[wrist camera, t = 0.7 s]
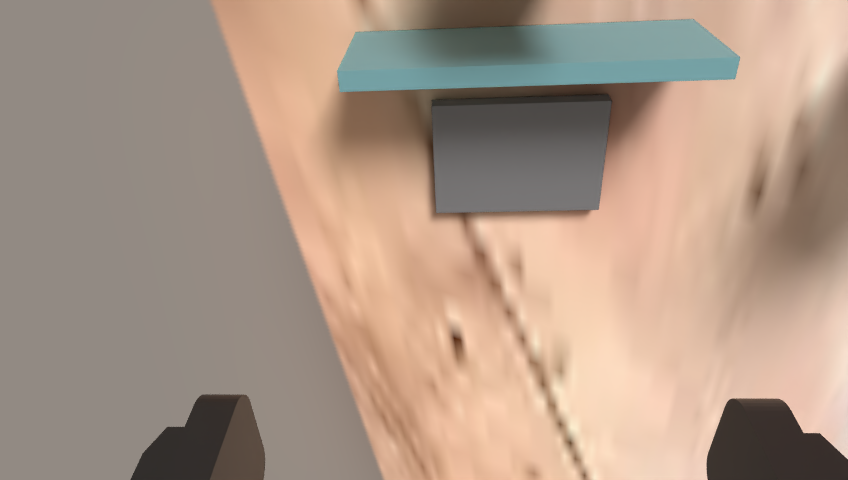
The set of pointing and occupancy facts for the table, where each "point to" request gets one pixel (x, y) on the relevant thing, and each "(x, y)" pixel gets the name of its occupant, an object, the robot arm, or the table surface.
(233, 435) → the robot arm
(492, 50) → the teal board
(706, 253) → the table surface
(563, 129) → the dark gray upright panel
